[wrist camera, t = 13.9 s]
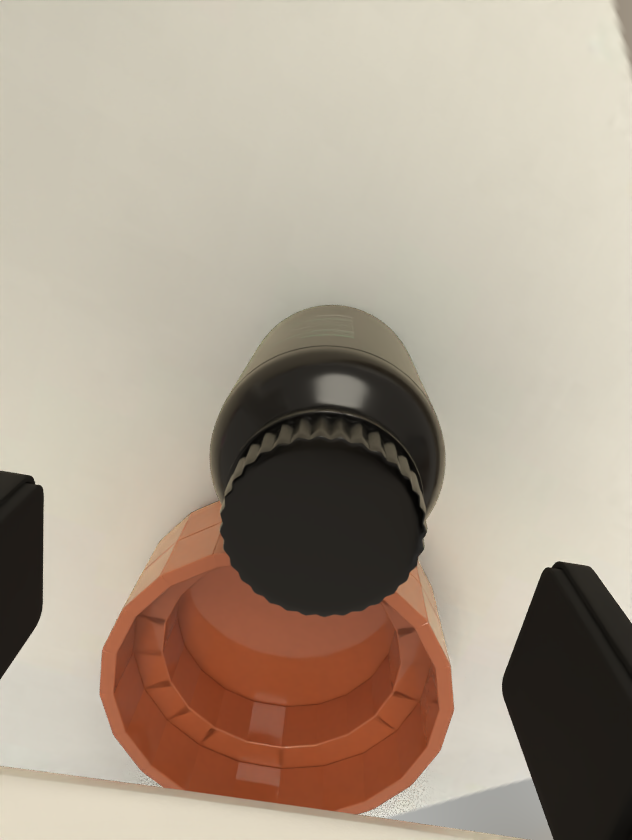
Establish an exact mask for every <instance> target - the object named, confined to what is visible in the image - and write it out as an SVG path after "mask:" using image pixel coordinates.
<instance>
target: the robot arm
mask: <svg viewBox="0 0 632 840" xmlns="http://www.w3.org/2000/svg"><path fill="white" fill-rule="evenodd" d="M43 507H44V493H43V488H42V486H41V485H35V481H34V478H33V477H32V476H30V475H23V474H17V473H11V472H5V471H0V679H1V678H2V676H3V675H4V673H5V672H6V670H7V669H8V667H9V666H10V664H11V663H12V661H13V660H14V658H15V657H16V655H17V654H18V652H19V651H20V650H21V648H22V647H23V645H24V644H25V642H26V641H27V639H28V638H29V636H30V635H31V633H32V632H33V630H34V629H35V627H36V626H37V624H38V621H39V619H40V616H41V612H42V605H43ZM502 692H503V697H504V700H505V703H506V706H507V709H508V712H509V715H510V717H511V720H512V723H513V726H514V729H515V732H516V734H517V737H518V740H519V743H520V746H521V749H522V751H523V754H524V757H525V760H526V763H527V766H528V768H529V771H530V774H531V777H532V780H533V783H534V785H535V788H536V791H537V794H538V797H539V800H540V802H541V805H542V808H543V811H544V814H545V816H546V819H547V822H548V825H549V828H550V830H551V833H552V836H553V839H554V840H632V623H631V622H630V620H629V619H628V618H627V616H626V615H625V613H624V612H623V611H622V609H621V608H620V606H619V605H618V604H617V602H616V601H615V600H614V598H613V597H612V595H611V594H610V593H609V591H608V590H607V588H606V587H605V586H604V584H603V583H602V581H601V580H600V579H599V577H598V576H597V574H596V573H595V572H594V570H593V569H592V568H591V567H589V566H585V565H578V564H572V563H566V562H560V561H559V562H556V563H555V564H554V565H553V566H552V568H549V567H548V568H545V569H544V570H543V572H542V574H541V577H540V579H539V582H538V585H537V588H536V590H535V593H534V596H533V598H532V601H531V604H530V606H529V609H528V612H527V614H526V617H525V620H524V622H523V625H522V628H521V630H520V633H519V636H518V638H517V641H516V644H515V646H514V649H513V652H512V654H511V657H510V660H509V663H508V665H507V668H506V671H505V673H504V676H503V681H502ZM0 840H528V839H521V838H514V837H508V836H501V835H495V834H488V833H481V832H474V831H467V830H460V829H454V828H446V827H440V826H433V825H426V824H420V823H413V822H406V821H398V820H392V819H385V818H378V817H371V816H364V815H357V814H350V813H343V812H335V811H328V810H321V809H314V808H307V807H300V806H293V805H286V804H278V803H271V802H264V801H257V800H250V799H242V798H235V797H228V796H221V795H214V794H206V793H199V792H192V791H185V790H177V789H170V788H162V787H155V786H147V785H140V784H132V783H125V782H117V781H110V780H102V779H95V778H87V777H80V776H72V775H65V774H57V773H50V772H42V771H35V770H27V769H20V768H12V767H4V766H0Z"/></svg>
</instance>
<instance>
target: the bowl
mask: <svg viewBox="0 0 632 840" xmlns="http://www.w3.org/2000/svg"><path fill="white" fill-rule="evenodd" d="M221 506H222V505H221V503H220V501H217V502H215V503H212V504H210V505H208V506H206V507H203V508H201V509H199V510H196V511H194V512H192V513H190V514H189V515H188V516H187V517H186V518H185V519H184V520H183V521H181V522H180V523H179V524H178V525H177V526H176V527H175V528H174V529H173V530H172V531H170V532H169V533H168V534H167V535H166V536H165V537H164V538H163V539H162V540H160V542H159V543H158V545H157V547H156V549H155V551H154V552H153V554H152V556H151V558H150V560H149V562H148V563H147V565H146V567H145V569H144V571H143V572H142V574H141V576H140V578H139V580H138V582H137V583H136V585H135V587H134V589H133V591H132V593H131V594H130V596H129V598H128V600H127V602H126V603H125V605H124V607H123V609H122V611H121V613H120V615H119V617H118V619H117V621H116V623H115V625H114V627H113V629H112V631H111V633H110V635H109V637H108V639H107V641H106V643H105V645H104V647H103V650H102V660H101V676H100V697H101V700H102V703H103V706H104V709H105V712H106V715H107V718H108V721H109V724H110V727H111V730H112V733H113V735H114V737H115V738H116V739H117V740H118V742H119V743H120V744H121V746H122V747H123V748H124V749H125V751H126V752H127V753H128V755H129V756H130V757H131V759H132V760H133V761H134V762H135V764H136V765H137V766H138V768H139V769H140V770H141V771H142V772H143V773H144V774H146V775H147V776H149V777H150V778H151V779H153V780H154V781H155V782H157V783H158V784H159V785H161V786H162V787H164V788H170V789H177V790H185V791H192V792H199V793H206V794H214V795H221V796H228V797H235V798H242V799H250V800H257V801H264V802H271V803H278V804H286V805H293V806H300V807H307V808H314V809H321V810H328V811H335V812H343V813H350V814H360V813H364V812H367V811H370V810H372V809H375V808H376V807H378V806H379V805H381V804H383V803H384V802H386V801H387V800H389V799H391V798H392V797H394V796H395V795H397V794H399V793H400V792H402V791H403V790H405V789H407V788H408V787H410V786H411V785H412V784H413V783H414V782H415V781H416V779H417V778H418V777H419V776H420V775H421V773H422V772H423V771H424V770H425V769H426V767H427V766H428V765H429V764H430V763H431V761H432V760H433V759H434V758H435V757H436V755H437V754H438V753H439V751H440V750H441V747H442V744H443V741H444V738H445V735H446V732H447V729H448V726H449V723H450V721H451V718H452V715H453V712H454V702H453V689H452V677H451V665H450V661H449V657H448V653H447V649H446V644H445V640H444V636H443V632H442V627H441V623H440V619H439V615H438V611H437V606H436V602H435V598H434V594H433V590H432V587H431V585H430V583H429V581H428V579H427V577H426V575H425V573H424V571H423V569H422V567H421V565H420V563H419V561H418V564H417V566H416V567H415V568H414V569H413V570H412V571H411V572H410V573H409V577H408V580H407V581H406V582H405V583H403V584H401V585H400V586H398V588H397V590H396V592H395V593H394V594H392V595H390V596H387V597H385V598H384V599H383V600H382V601H381V602H380V603H379V604H376V605H371V606H368V607H367V608H366V609H365V610H363V611H359V612H356V611H355V612H350V613H348V614H346V615H344V616H341V615H331V616H327V617H322V616H319V615H306V616H305V615H303V614H301V613H299V612H297V611H287V610H285V609H284V608H283V607H281V606H280V605H275V604H271V603H269V602H268V601H267V600H266V598H265V597H263V596H261V595H258V594H256V593H254V592H253V590H252V588H251V586H250V585H248V584H246V583H245V582H243V581H242V580H241V579H240V576H239V573H238V571H236V570H235V569H234V568H233V567H232V566H231V565H230V557H229V556H228V555H227V554H226V552H225V551H224V550H223V541H224V539H223V537H222V536H221V534H220V530H219V529H220V525H221V522H222V520H221V516H220V509H221Z"/></svg>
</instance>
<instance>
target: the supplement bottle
mask: <svg viewBox="0 0 632 840" xmlns="http://www.w3.org/2000/svg"><path fill="white" fill-rule="evenodd" d="M210 470H211V476H212V481H213V485H214V489H215V491H216V494H217V497H218V499H219V501H220V503H221V505H222V506H221V509H220V516H221V520H222V522H221V525H220V529H219V530H220V534H221V536H222V537H223V539H224V541H223V550H224V551H225V552H226V554H227V555H228V556H229V557H230V565H231V566H232V567H233V568H234V569H235V570H236V571H238V573H239V576H240V579H241V580H242V581H243V582H245V583H246V584H248V585H250V586H251V588H252V590H253V592H254V593H256V594H258V595H261V596H263V597H265V598H266V600H267V601H268V602H269V603H271V604H275V605H280V606H281V607H283V608H284V609H285V610H287V611H297V612H299V613H301V614H303V615H305V616H306V615H319V616H322V617H327V616H331V615H341V616H344V615H346V614H348V613H350V612H355V611H356V612H359V611H363V610H365V609H366V608H367V607H368V606H371V605H376V604H379V603H380V602H381V601H382V600H383V599H384V598H385V597H387V596H390V595H392V594H394V593H395V592H396V590H397V588H398V586H400V585H401V584H403V583H405V582H406V581H407V580H408V577H409V573H410V572H411V571H412V570H413V569H414V568H415V567H416V566H417V564H418V556H419V555H420V554H421V553H422V551H423V550H424V540H423V538H424V537H425V535H426V533H427V524H426V519H427V518H428V516H429V515H430V513H431V511H432V510H433V508H434V506H435V504H436V501H437V499H438V497H439V494H440V491H441V488H442V484H443V479H444V473H445V446H444V440H443V436H442V431H441V428H440V424H439V421H438V419H437V416H436V413H435V411H434V409H433V407H432V404H431V402H430V400H429V398H428V396H427V393H426V391H425V389H424V387H423V384H422V382H421V380H420V378H419V376H418V373H417V371H416V369H415V367H414V364H413V362H412V360H411V358H410V356H409V354H408V352H407V350H406V348H405V347H404V345H403V343H402V342H401V340H400V339H399V338H398V336H397V335H396V334H395V333H394V332H393V331H392V330H391V329H390V328H389V327H388V326H387V325H386V324H385V323H383V322H382V321H381V320H379V319H378V318H376V317H374V316H373V315H371V314H369V313H367V312H364V311H362V310H359V309H356V308H352V307H348V306H341V305H322V306H316V307H311V308H308V309H304V310H302V311H299V312H297V313H295V314H293V315H291V316H289V317H288V318H286V319H284V320H283V321H282V322H280V323H279V324H278V325H277V326H275V327H274V328H273V329H272V330H271V331H270V332H269V333H268V335H267V336H266V337H265V338H264V340H263V341H262V342H261V344H260V345H259V347H258V348H257V350H256V351H255V353H254V355H253V356H252V358H251V360H250V361H249V363H248V365H247V366H246V368H245V370H244V371H243V373H242V374H241V376H240V378H239V379H238V381H237V383H236V384H235V386H234V388H233V389H232V391H231V393H230V394H229V396H228V398H227V399H226V401H225V403H224V405H223V407H222V409H221V411H220V413H219V416H218V418H217V421H216V423H215V426H214V430H213V433H212V438H211V444H210Z"/></svg>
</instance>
